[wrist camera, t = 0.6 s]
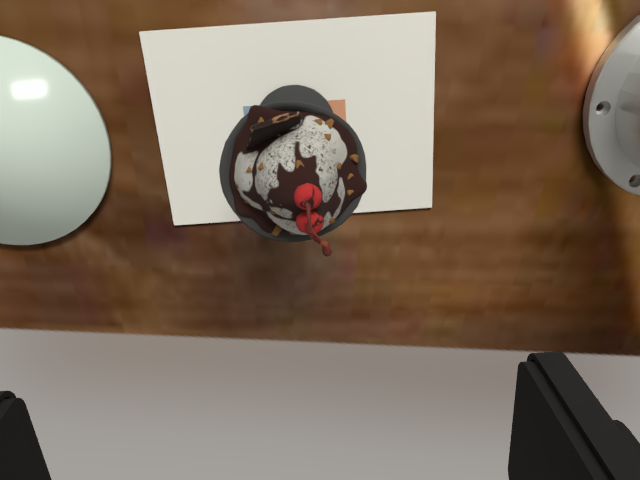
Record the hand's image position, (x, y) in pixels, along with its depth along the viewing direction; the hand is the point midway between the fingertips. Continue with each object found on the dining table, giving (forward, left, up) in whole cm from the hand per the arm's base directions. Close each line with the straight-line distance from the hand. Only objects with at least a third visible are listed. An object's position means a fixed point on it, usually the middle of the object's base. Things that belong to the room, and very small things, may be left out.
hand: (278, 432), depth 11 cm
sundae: (0, 0, -26) cm, 27 cm away
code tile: (0, 0, -26) cm, 27 cm away
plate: (+18, 0, -26) cm, 32 cm away
